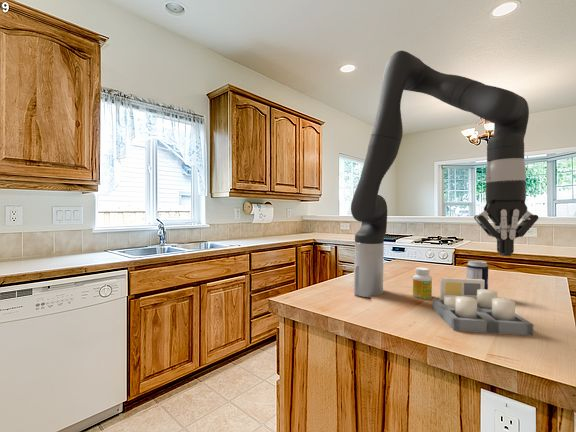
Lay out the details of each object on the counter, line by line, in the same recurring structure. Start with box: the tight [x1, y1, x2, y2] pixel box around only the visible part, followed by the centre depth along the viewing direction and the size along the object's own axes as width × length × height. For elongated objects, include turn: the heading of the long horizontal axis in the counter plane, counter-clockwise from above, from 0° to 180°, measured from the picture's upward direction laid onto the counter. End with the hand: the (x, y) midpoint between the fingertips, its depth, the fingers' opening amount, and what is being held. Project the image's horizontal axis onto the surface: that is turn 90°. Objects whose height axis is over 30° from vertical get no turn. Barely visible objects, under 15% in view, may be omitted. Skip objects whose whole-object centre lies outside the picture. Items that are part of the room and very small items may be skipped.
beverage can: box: [466, 259, 489, 290], centre depth 96 cm, size 6×6×12 cm
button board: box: [432, 277, 534, 336], centre depth 76 cm, size 16×18×9 cm
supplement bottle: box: [412, 267, 433, 300], centre depth 96 cm, size 5×5×10 cm
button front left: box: [455, 296, 477, 319], centre depth 72 cm, size 4×4×4 cm
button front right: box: [492, 297, 516, 321], centre depth 71 cm, size 4×4×4 cm
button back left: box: [444, 295, 457, 307], centre depth 80 cm, size 4×4×4 cm
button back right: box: [477, 289, 498, 309], centre depth 79 cm, size 4×4×4 cm
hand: (505, 255), depth 71 cm, fingers closed
